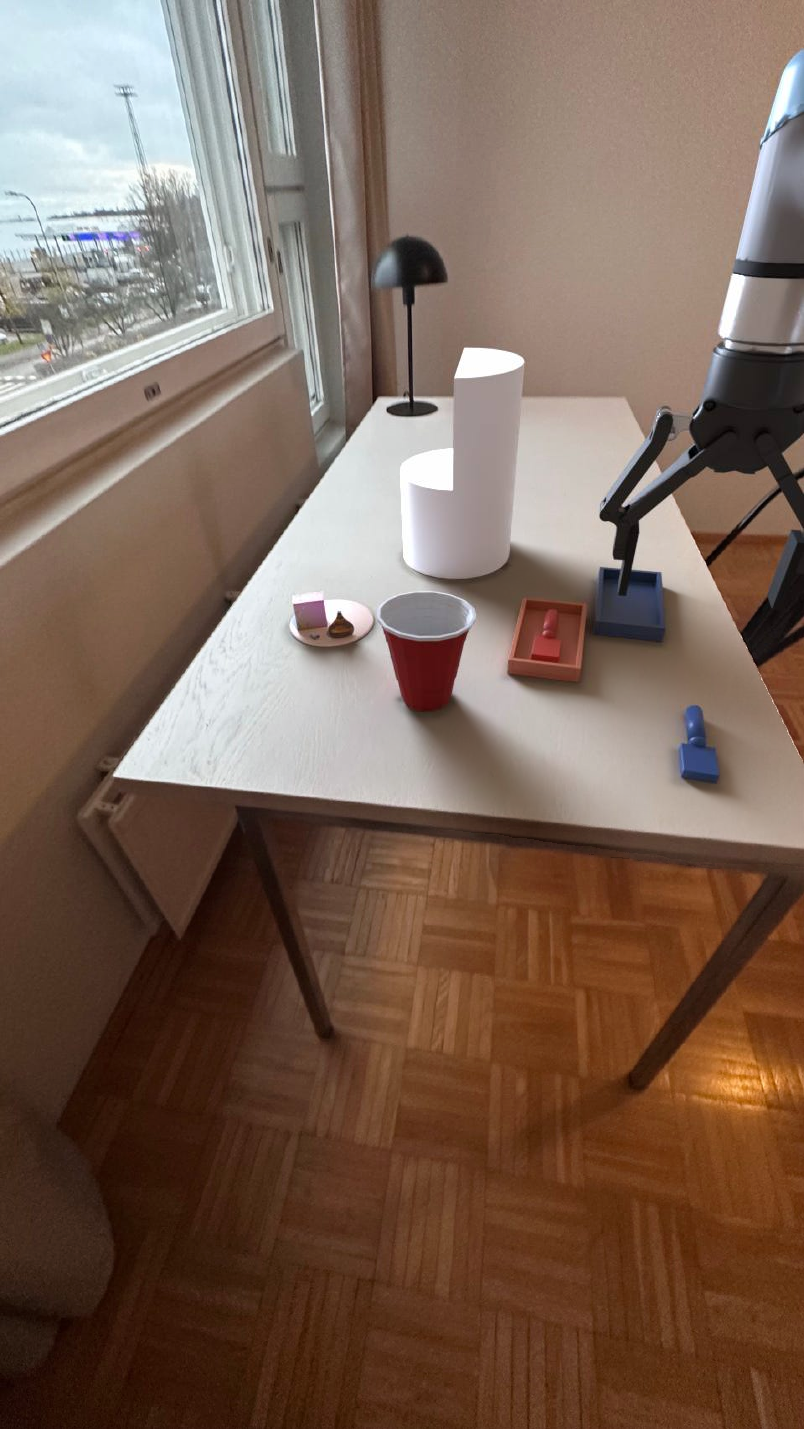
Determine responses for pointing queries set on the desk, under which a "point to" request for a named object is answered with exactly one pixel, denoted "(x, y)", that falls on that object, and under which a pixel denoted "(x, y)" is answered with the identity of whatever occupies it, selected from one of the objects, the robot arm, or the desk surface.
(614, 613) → the blue tray
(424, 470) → the cylinder
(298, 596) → the round pink plate
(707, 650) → the desk surface
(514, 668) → the terracotta tray
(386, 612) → the plastic cup
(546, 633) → the red rubber stamp
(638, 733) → the desk surface
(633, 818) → the desk surface
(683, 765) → the blue stamp
